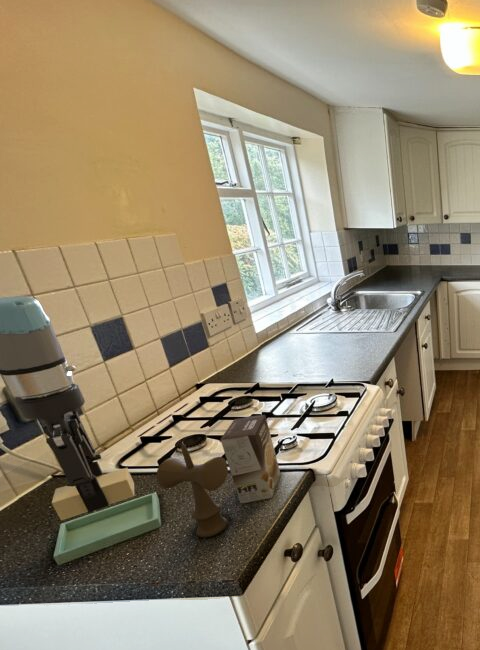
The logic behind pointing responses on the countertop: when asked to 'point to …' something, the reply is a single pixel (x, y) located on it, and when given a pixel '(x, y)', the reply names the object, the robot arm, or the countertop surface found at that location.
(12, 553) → the countertop surface
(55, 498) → the tan block
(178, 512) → the countertop surface
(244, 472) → the coffee box
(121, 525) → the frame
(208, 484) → the kendama
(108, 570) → the countertop surface
